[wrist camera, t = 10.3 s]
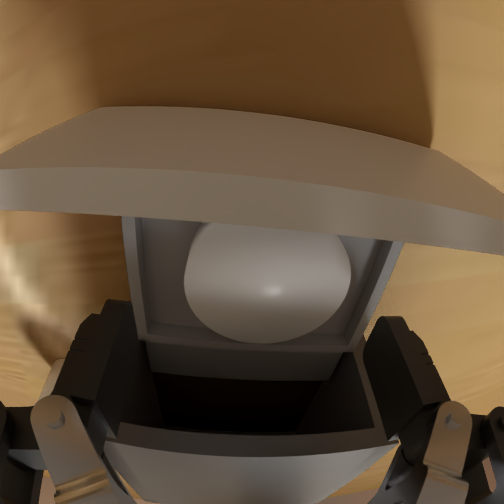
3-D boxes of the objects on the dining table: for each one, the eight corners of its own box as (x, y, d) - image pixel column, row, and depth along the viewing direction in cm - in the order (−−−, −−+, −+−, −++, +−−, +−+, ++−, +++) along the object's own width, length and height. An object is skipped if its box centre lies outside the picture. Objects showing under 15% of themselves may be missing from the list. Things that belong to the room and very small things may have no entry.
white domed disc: (355, 200, 11) (371, 221, 10) (320, 318, 15) (327, 343, 13) (189, 186, 11) (183, 205, 9) (189, 313, 14) (186, 340, 13)
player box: (303, 435, 24) (312, 505, 18) (154, 428, 23) (145, 501, 17) (362, 332, 17) (398, 443, 11) (124, 317, 16) (89, 436, 10)
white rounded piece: (107, 395, 20) (98, 434, 17) (62, 385, 20) (50, 421, 17) (94, 364, 18) (80, 408, 15) (45, 353, 18) (28, 393, 15)
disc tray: (346, 371, 18) (369, 466, 13) (131, 360, 17) (108, 461, 11) (438, 151, 11) (554, 235, 5) (99, 107, 9) (-27, 171, 4)
